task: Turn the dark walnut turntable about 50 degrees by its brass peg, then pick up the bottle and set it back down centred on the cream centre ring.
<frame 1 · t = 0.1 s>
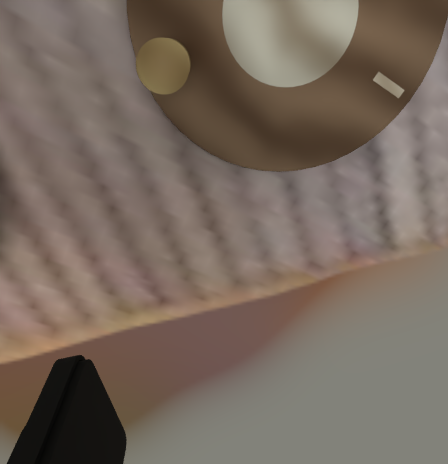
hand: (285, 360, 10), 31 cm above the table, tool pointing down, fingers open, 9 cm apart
turntable: (297, 13, 30), point 5 cm above the table, hinge at 0.0°, touching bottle
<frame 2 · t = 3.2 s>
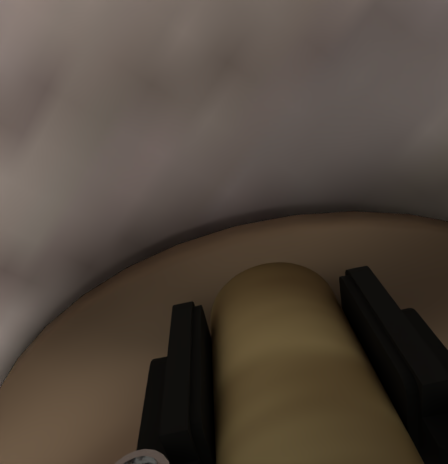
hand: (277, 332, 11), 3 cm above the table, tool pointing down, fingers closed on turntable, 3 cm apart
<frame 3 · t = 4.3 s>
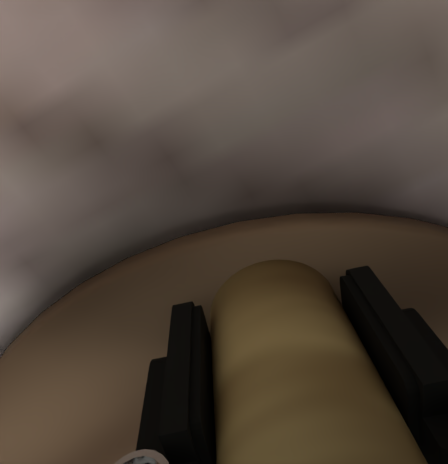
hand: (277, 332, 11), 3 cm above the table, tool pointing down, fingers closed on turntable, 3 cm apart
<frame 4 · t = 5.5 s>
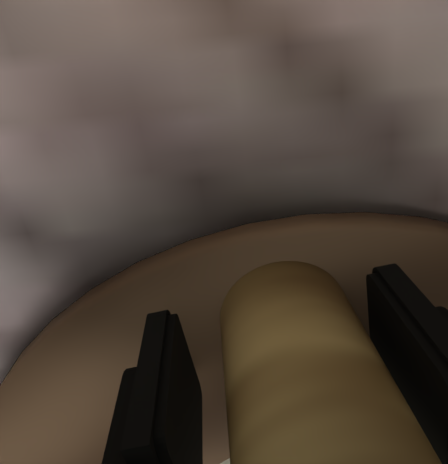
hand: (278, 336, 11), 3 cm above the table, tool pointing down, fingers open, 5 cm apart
when the fingers open (5 cm above the table, at t = 15.9 s): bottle drops 1 cm, resting on turntable.
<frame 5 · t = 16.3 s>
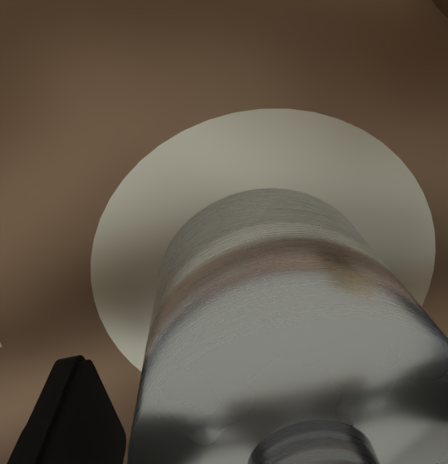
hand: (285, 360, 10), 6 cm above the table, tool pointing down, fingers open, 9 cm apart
turntable: (279, 339, 11), point 5 cm above the table, hinge at 48.4°, touching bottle
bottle: (264, 288, 13), point 2 cm above the table, touching turntable
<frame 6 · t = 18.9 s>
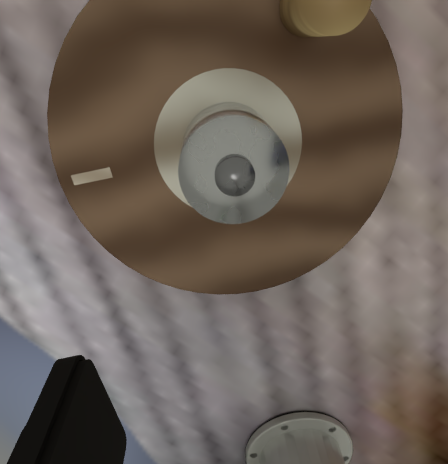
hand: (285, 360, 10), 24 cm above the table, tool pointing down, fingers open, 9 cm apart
turntable: (230, 157, 27), point 5 cm above the table, hinge at 48.4°, touching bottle
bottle: (228, 149, 30), point 2 cm above the table, touching turntable
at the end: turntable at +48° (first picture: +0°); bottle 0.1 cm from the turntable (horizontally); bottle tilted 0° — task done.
